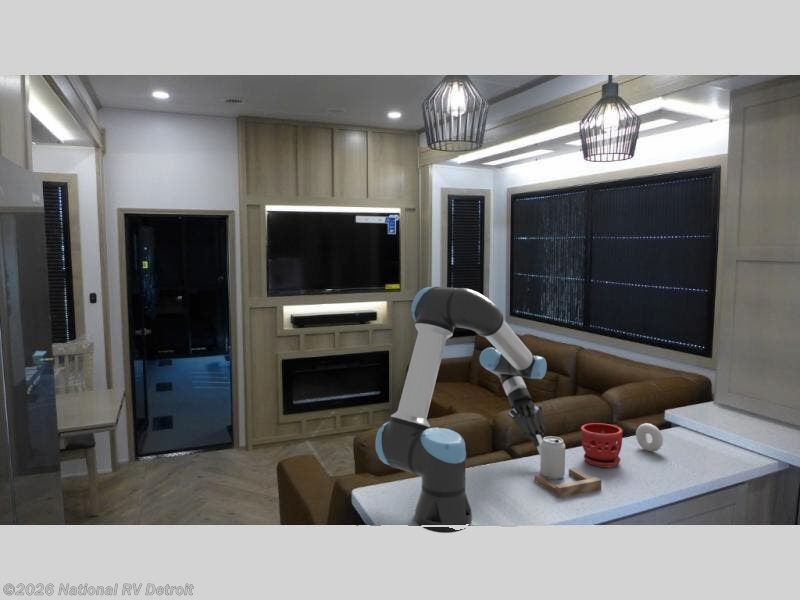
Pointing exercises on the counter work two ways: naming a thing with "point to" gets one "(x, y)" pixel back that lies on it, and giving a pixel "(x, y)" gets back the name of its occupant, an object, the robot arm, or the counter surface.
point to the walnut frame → (570, 484)
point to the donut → (653, 432)
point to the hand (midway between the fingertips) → (544, 454)
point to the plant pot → (601, 444)
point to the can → (552, 457)
